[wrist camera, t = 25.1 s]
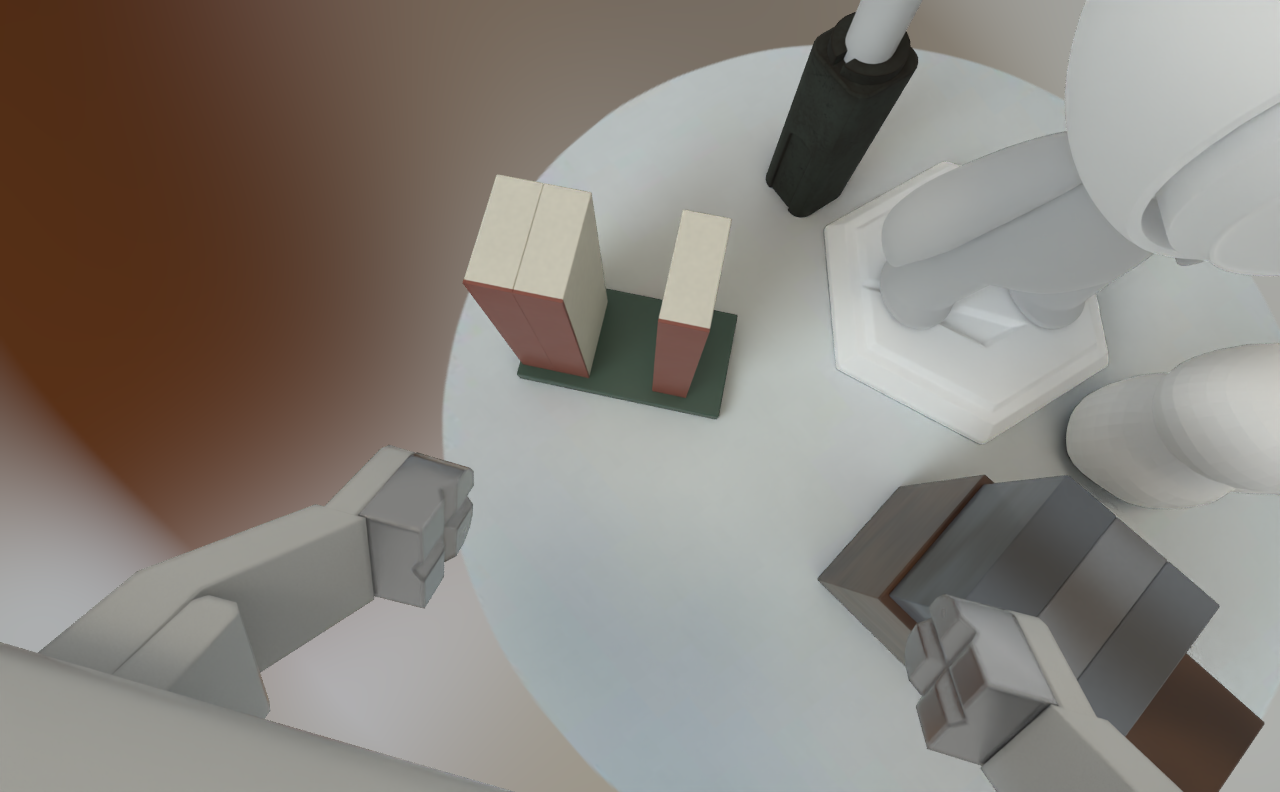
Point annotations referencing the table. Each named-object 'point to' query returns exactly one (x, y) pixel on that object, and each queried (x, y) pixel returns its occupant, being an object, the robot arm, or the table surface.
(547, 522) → the table surface
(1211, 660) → the table surface
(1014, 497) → the grey stand
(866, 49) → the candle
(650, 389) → the green book holder
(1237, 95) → the white toy figurine
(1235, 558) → the table surface
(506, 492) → the table surface
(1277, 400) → the cat figurine
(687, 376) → the white book
